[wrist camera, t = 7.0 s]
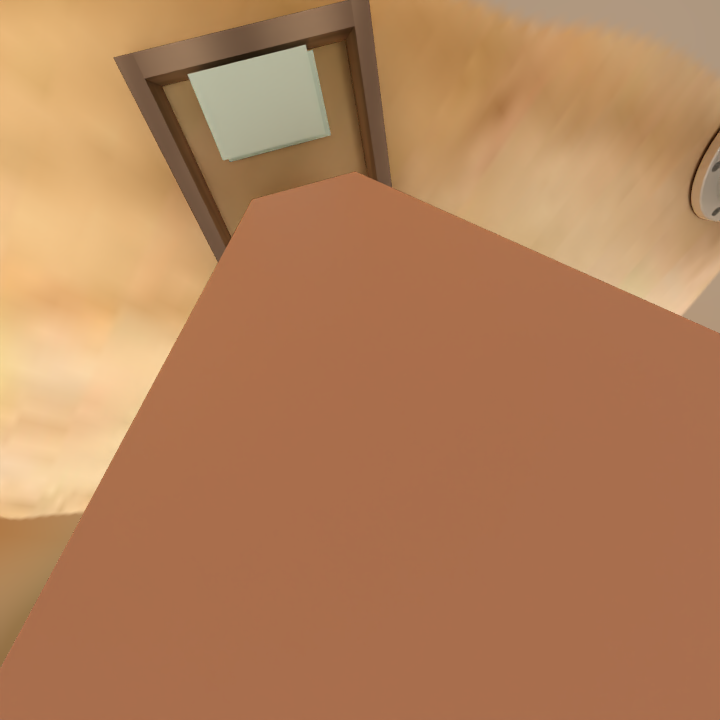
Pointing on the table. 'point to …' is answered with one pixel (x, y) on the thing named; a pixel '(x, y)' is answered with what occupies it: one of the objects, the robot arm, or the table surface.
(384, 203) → the tall pink block
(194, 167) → the frame
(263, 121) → the pale green block
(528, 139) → the table surface
